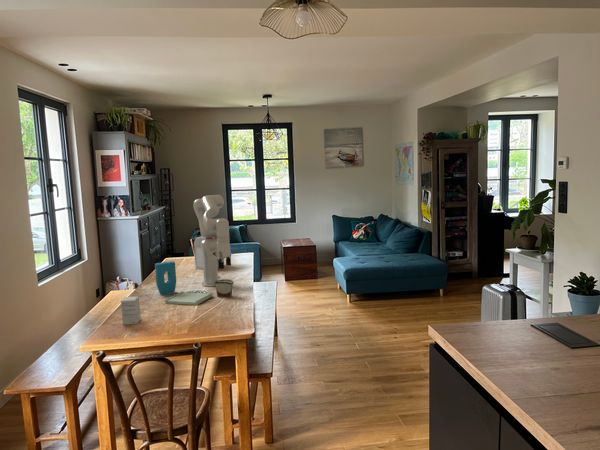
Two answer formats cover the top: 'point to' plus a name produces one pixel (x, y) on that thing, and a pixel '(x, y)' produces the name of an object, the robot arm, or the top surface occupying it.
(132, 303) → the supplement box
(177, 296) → the board
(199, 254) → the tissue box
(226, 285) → the food container
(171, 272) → the block
